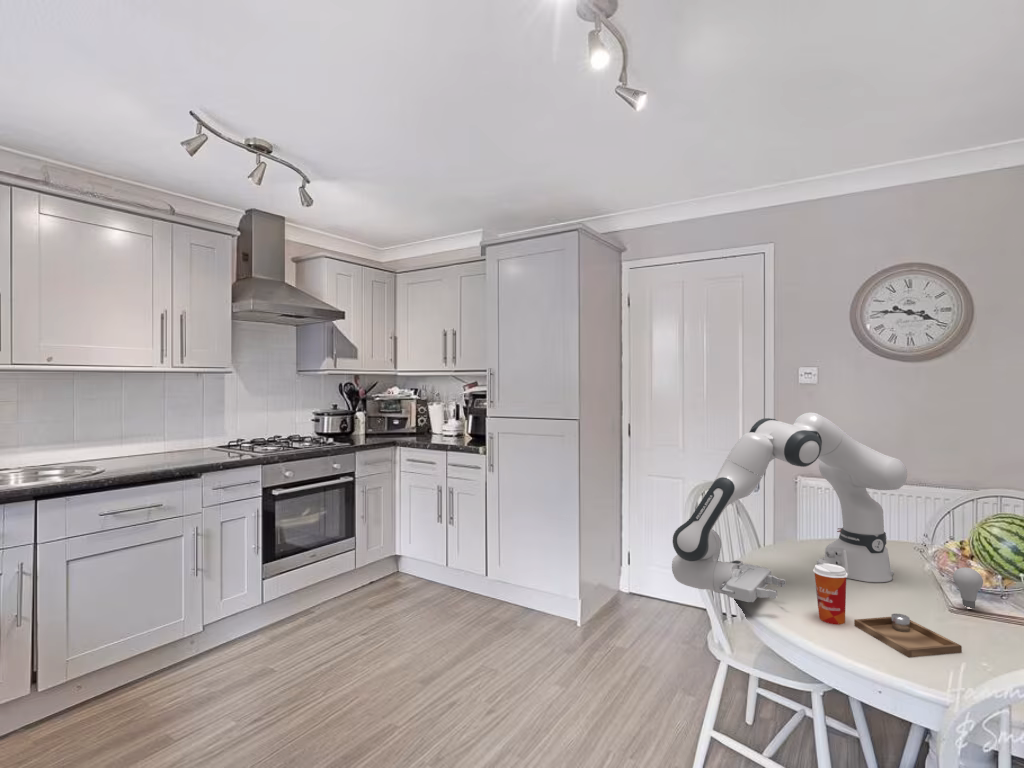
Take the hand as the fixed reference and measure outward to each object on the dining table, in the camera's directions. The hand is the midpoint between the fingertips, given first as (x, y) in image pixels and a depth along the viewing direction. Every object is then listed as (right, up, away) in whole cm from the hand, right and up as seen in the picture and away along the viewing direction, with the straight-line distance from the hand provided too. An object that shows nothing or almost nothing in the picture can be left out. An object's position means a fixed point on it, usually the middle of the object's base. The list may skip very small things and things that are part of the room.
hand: (781, 588), depth 144 cm
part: (+23, -5, -14) cm, 27 cm away
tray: (+20, -5, -19) cm, 28 cm away
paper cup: (+9, -6, -8) cm, 13 cm away
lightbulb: (+49, -5, -3) cm, 49 cm away
